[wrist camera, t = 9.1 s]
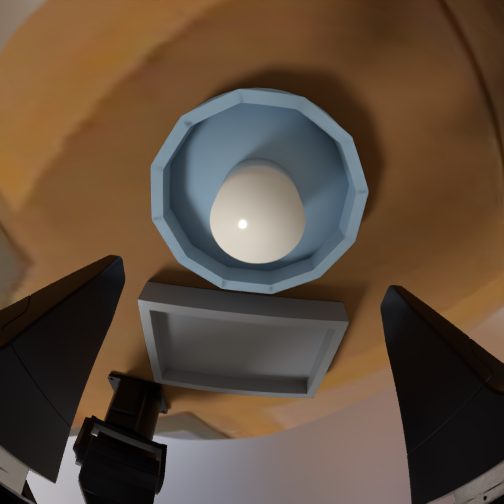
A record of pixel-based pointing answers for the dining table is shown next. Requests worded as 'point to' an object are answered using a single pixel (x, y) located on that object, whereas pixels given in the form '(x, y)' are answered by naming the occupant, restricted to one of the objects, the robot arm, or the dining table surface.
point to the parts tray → (239, 340)
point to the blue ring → (269, 147)
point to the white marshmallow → (257, 212)
